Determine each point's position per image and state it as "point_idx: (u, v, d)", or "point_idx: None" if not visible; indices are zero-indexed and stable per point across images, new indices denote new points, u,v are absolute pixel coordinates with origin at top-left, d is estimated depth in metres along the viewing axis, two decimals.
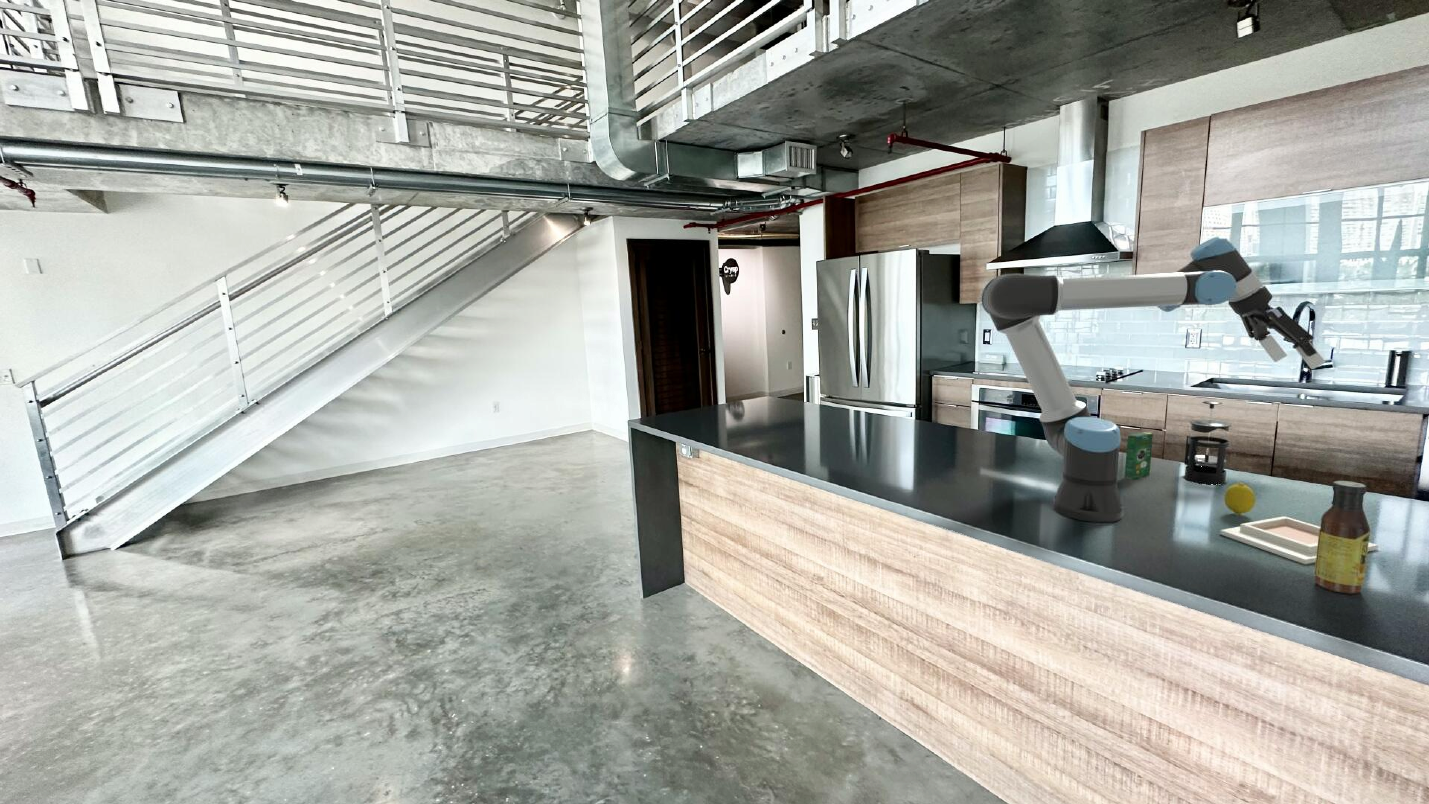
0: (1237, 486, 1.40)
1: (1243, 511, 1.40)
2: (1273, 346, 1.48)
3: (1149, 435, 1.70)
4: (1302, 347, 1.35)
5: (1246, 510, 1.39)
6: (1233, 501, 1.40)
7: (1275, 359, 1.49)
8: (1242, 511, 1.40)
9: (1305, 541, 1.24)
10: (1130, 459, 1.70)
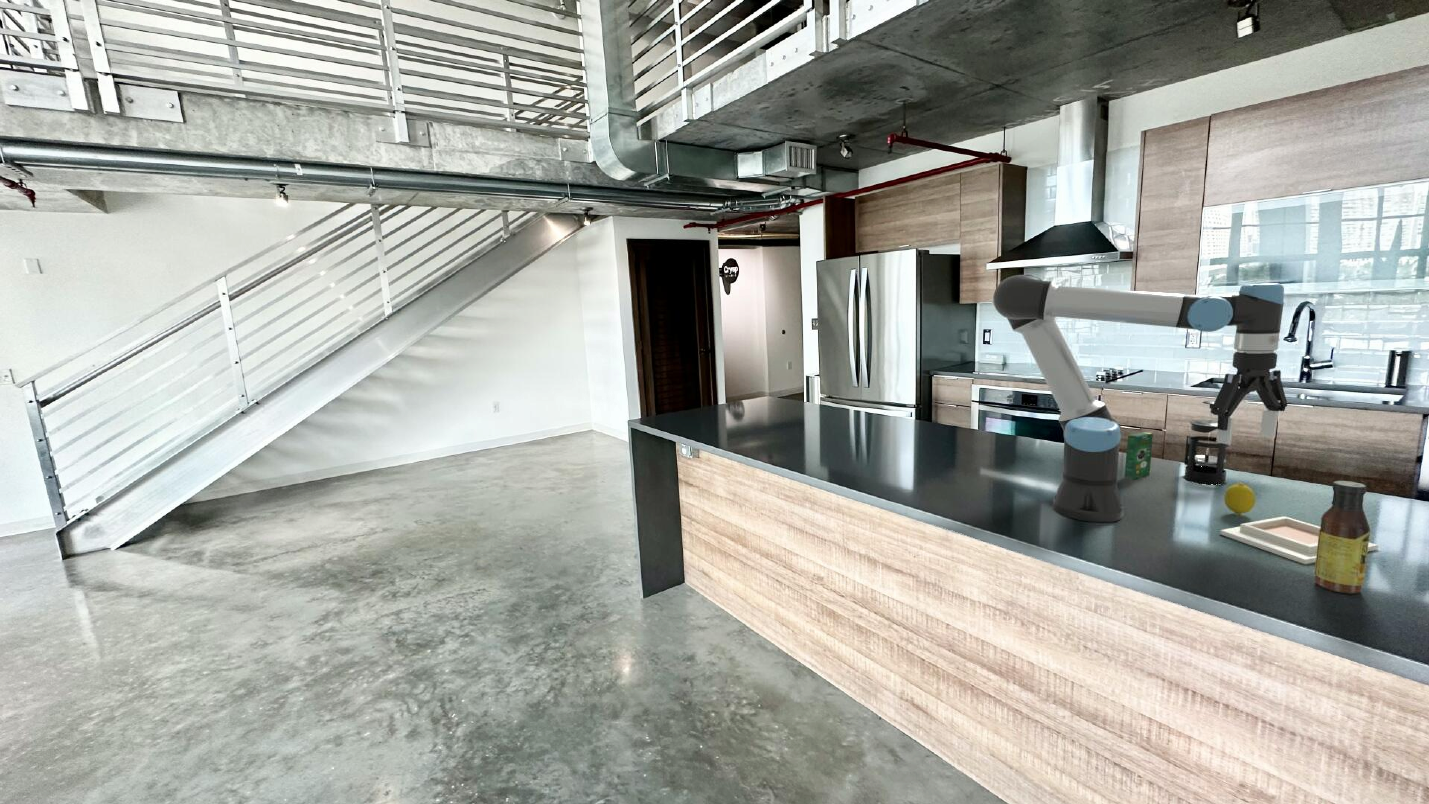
0: (1237, 486, 1.40)
1: (1243, 511, 1.40)
2: (1269, 422, 1.39)
3: (1149, 435, 1.70)
4: None
5: (1246, 510, 1.39)
6: (1233, 501, 1.40)
7: (1261, 433, 1.41)
8: (1242, 511, 1.40)
9: (1305, 541, 1.24)
10: (1130, 459, 1.70)
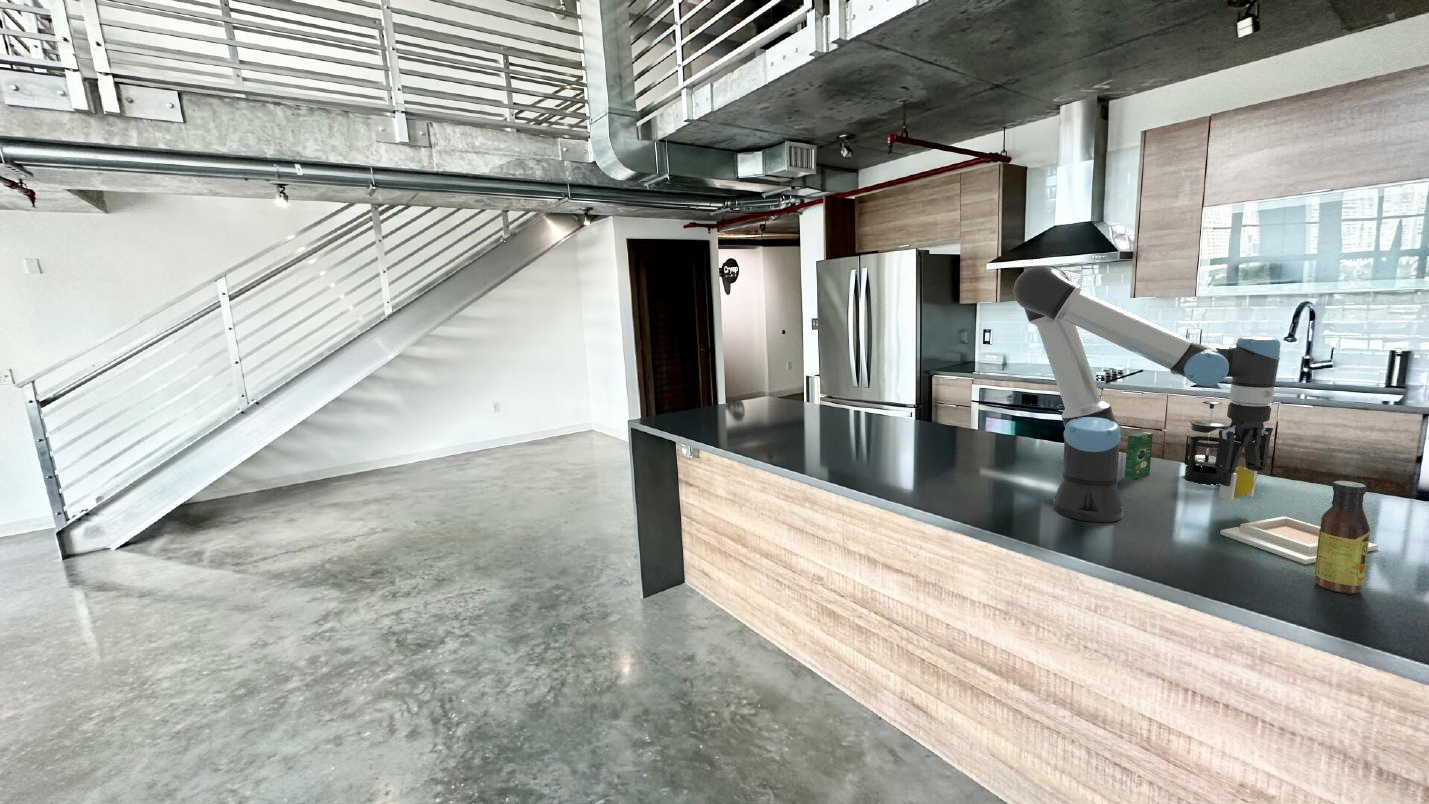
0: (1236, 469, 1.40)
1: (1241, 494, 1.39)
2: None
3: (1149, 435, 1.70)
4: None
5: (1245, 493, 1.39)
6: None
7: None
8: (1240, 494, 1.40)
9: (1305, 541, 1.24)
10: (1130, 459, 1.70)
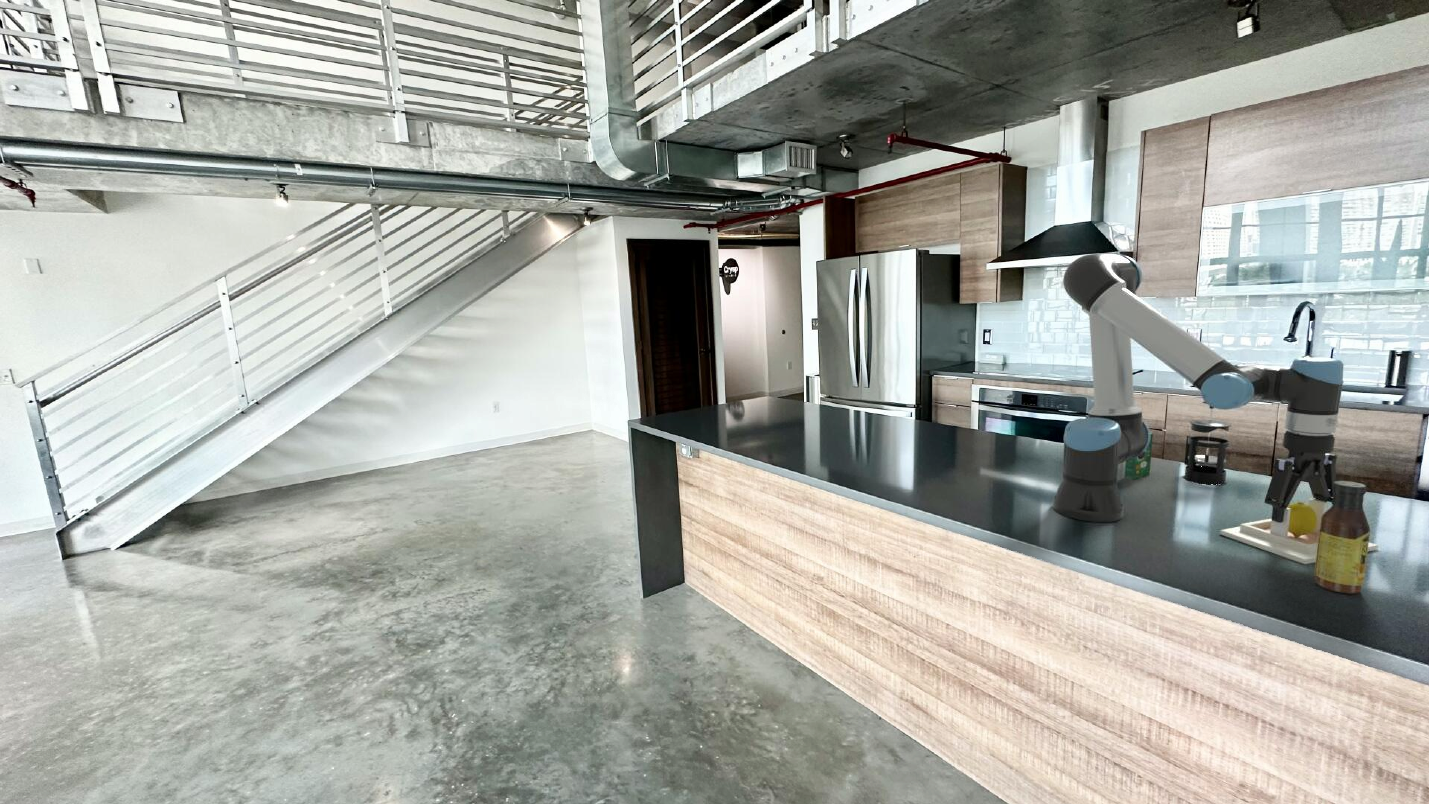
0: (1296, 505, 1.25)
1: (1303, 533, 1.24)
2: (1316, 513, 1.26)
3: None
4: None
5: (1307, 532, 1.24)
6: (1292, 522, 1.24)
7: None
8: (1302, 533, 1.24)
9: (1305, 541, 1.24)
10: None
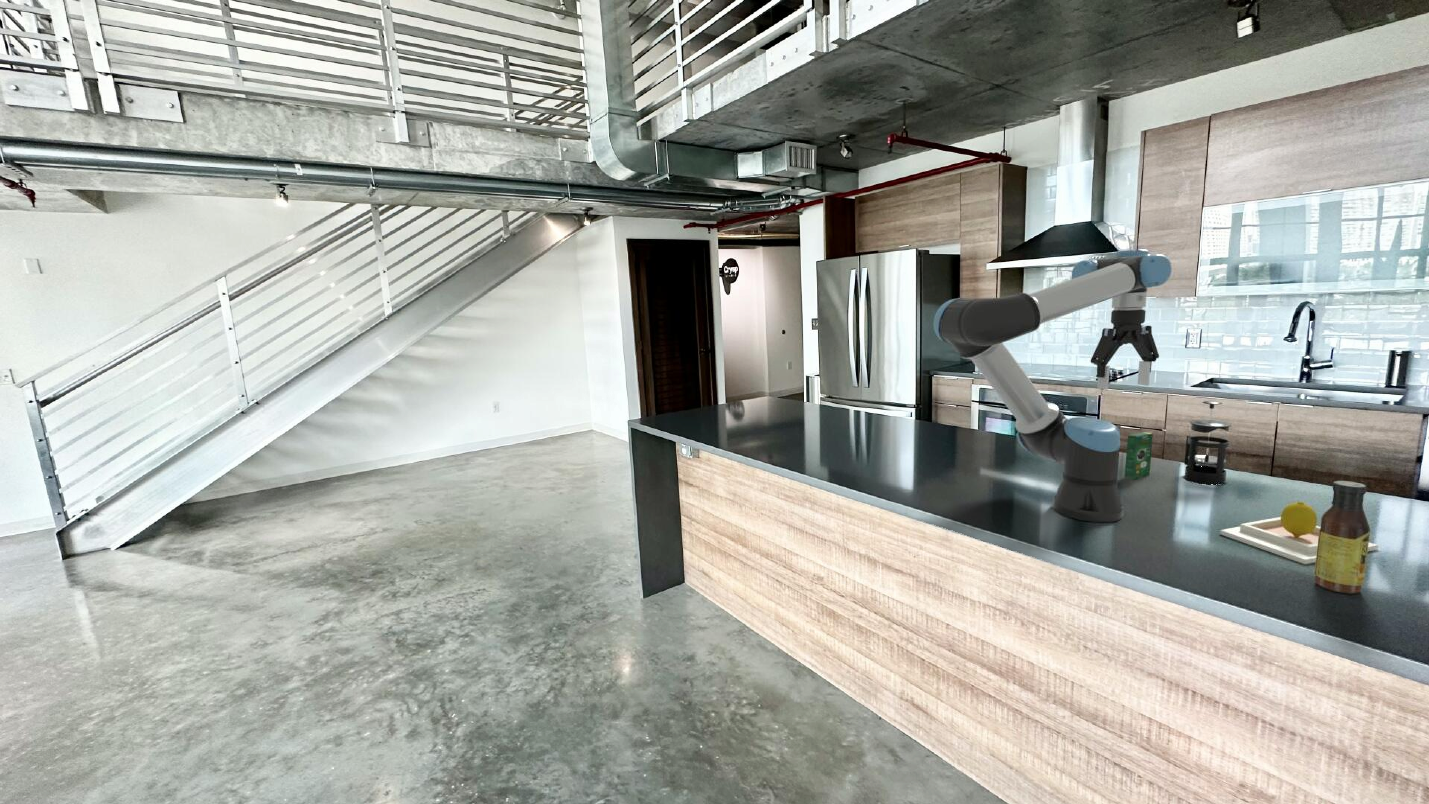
0: (1296, 505, 1.25)
1: (1303, 533, 1.24)
2: (1143, 371, 1.61)
3: (1149, 435, 1.70)
4: None
5: (1307, 532, 1.24)
6: (1292, 522, 1.24)
7: (1138, 382, 1.63)
8: (1302, 533, 1.24)
9: (1305, 541, 1.24)
10: (1130, 459, 1.70)
